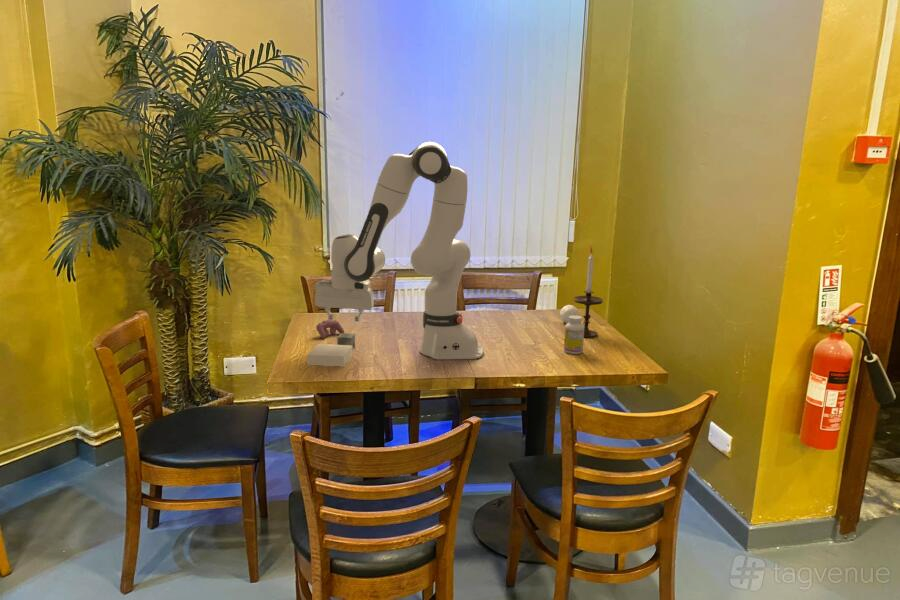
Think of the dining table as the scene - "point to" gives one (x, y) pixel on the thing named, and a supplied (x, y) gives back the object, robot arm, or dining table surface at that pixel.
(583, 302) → the candlestick
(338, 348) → the cream block
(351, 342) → the slate cube
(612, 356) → the dining table surface
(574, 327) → the supplement bottle
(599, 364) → the dining table surface
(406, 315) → the dining table surface
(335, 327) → the video game controller
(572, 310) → the geometric ball
